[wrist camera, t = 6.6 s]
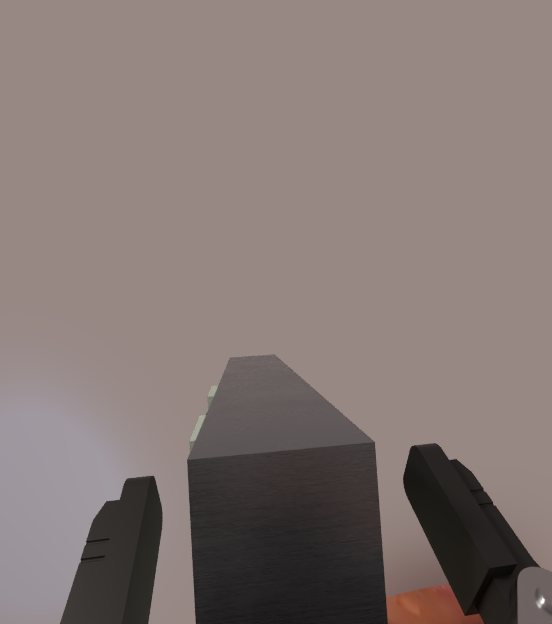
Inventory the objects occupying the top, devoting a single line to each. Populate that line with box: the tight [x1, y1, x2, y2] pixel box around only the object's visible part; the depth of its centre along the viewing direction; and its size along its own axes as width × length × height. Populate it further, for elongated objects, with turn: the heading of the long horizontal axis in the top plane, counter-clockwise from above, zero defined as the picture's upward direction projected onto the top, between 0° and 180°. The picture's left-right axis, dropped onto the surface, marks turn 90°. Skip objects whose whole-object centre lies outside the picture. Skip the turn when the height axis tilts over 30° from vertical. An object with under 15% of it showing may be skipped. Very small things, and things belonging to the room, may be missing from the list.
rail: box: [187, 355, 388, 624], centre depth 20 cm, size 4×25×4 cm, turn 5°
